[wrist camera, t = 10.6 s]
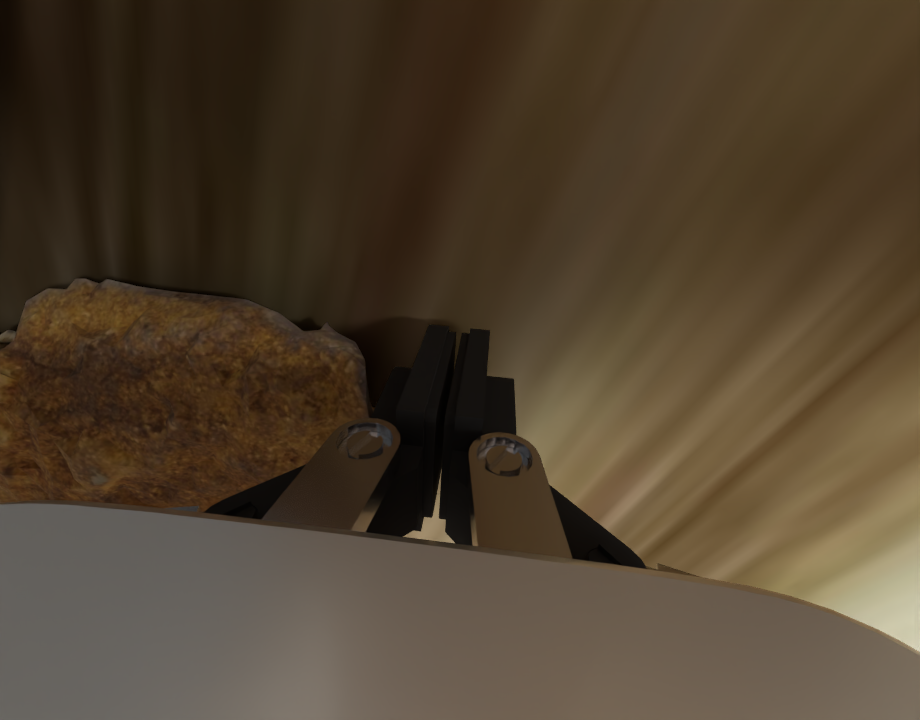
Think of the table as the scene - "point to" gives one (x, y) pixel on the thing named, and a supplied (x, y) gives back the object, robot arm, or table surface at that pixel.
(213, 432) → the decorative rock
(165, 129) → the table surface
